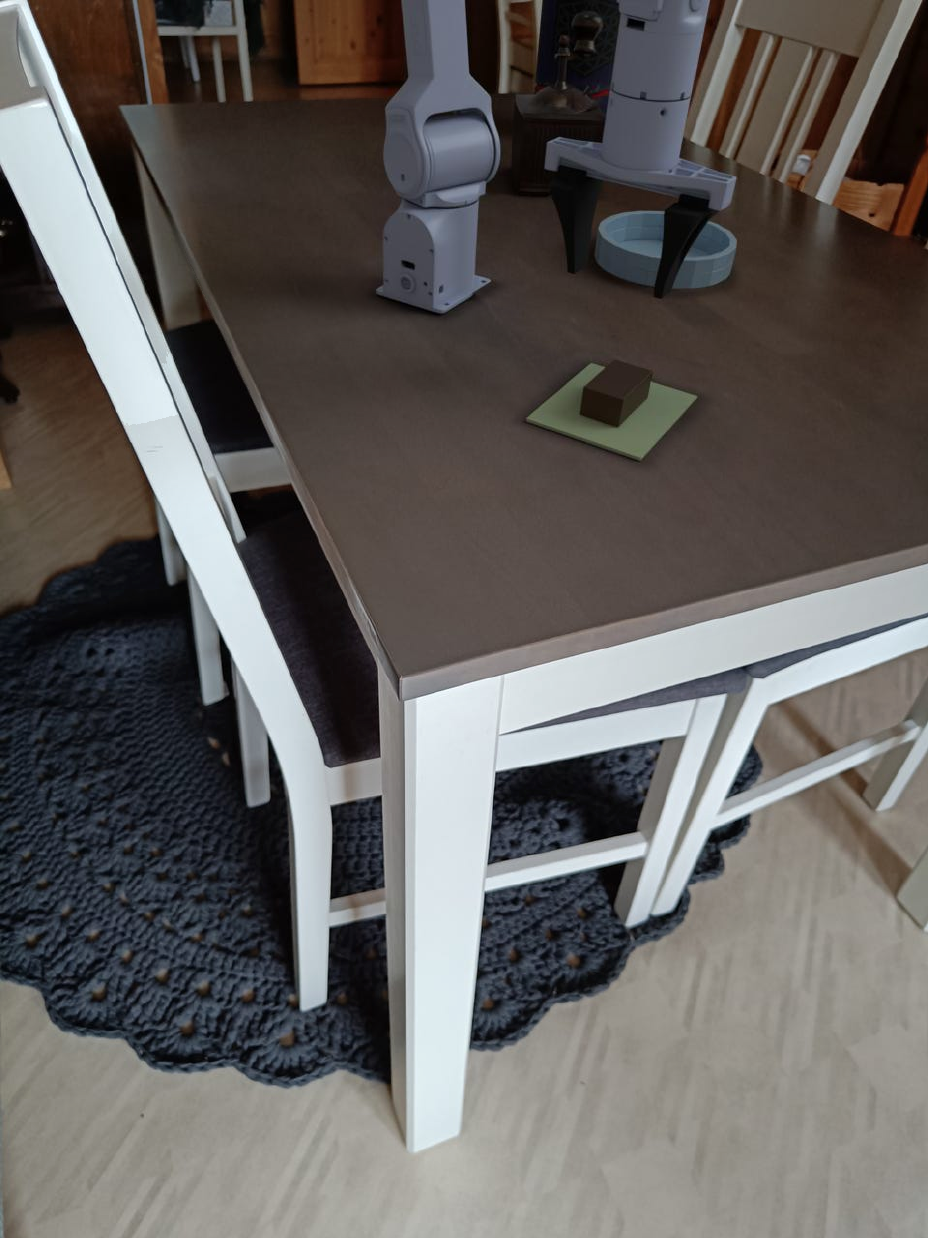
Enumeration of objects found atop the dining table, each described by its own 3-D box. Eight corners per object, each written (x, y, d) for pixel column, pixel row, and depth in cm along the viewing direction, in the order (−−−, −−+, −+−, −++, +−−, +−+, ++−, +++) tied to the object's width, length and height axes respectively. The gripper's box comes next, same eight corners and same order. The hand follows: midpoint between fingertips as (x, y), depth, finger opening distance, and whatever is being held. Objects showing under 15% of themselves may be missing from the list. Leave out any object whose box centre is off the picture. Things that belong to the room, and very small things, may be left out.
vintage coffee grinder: (601, 198, 115) (625, 31, 103) (515, 195, 114) (529, 27, 102) (583, 161, 126) (602, 8, 114) (504, 158, 125) (516, 3, 113)
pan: (700, 305, 91) (708, 271, 89) (571, 270, 96) (575, 237, 94) (746, 262, 101) (755, 230, 98) (627, 232, 106) (632, 201, 104)
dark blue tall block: (615, 143, 134) (654, -117, 114) (535, 141, 133) (560, -123, 113) (598, 119, 144) (631, -125, 124) (524, 116, 143) (545, -130, 123)
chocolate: (618, 428, 72) (623, 399, 70) (578, 414, 73) (583, 386, 71) (647, 398, 76) (653, 370, 74) (609, 386, 77) (614, 358, 75)
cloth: (640, 461, 69) (640, 457, 69) (525, 421, 73) (525, 418, 72) (696, 398, 77) (697, 395, 76) (590, 365, 80) (591, 362, 80)
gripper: (767, 99, 64) (720, 288, 73) (584, 65, 69) (561, 245, 78) (733, 119, 59) (688, 318, 68) (540, 80, 65) (522, 270, 74)
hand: (618, 281), depth 73 cm, fingers open, 7 cm apart
